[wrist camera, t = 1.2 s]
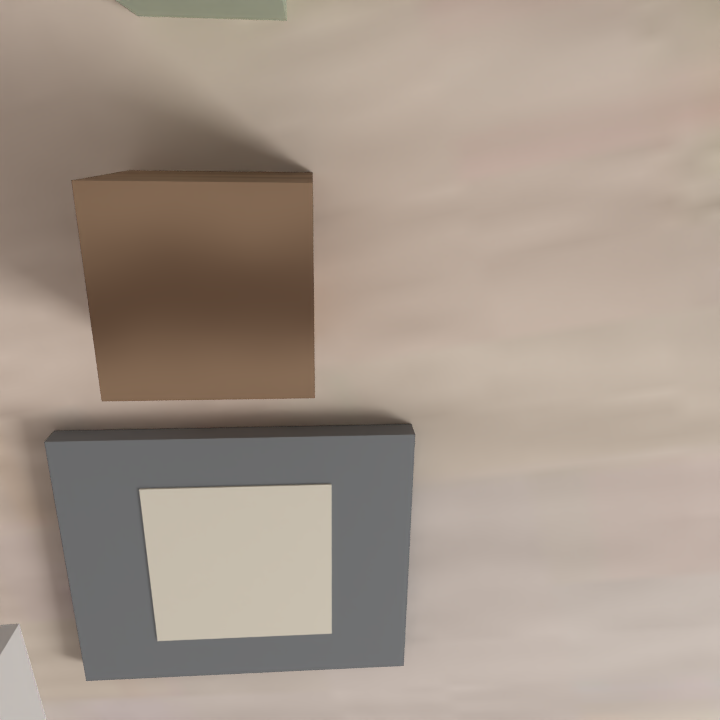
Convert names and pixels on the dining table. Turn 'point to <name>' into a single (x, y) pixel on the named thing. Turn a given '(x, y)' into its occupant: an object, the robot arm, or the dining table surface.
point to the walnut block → (199, 283)
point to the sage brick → (209, 9)
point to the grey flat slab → (235, 547)
